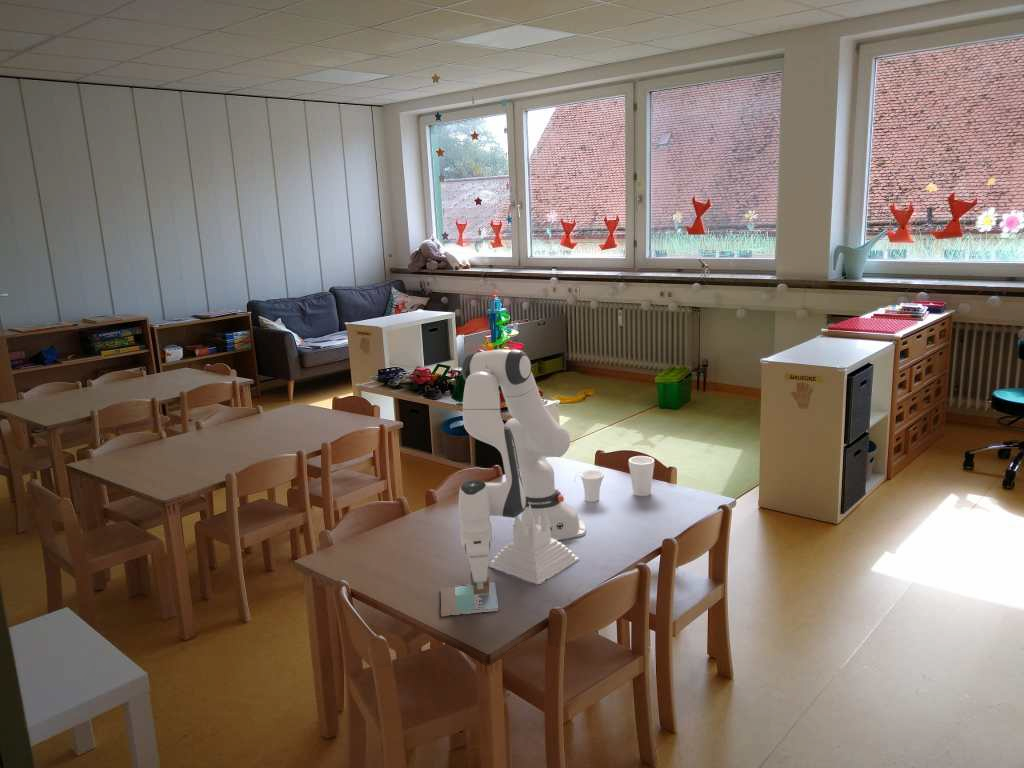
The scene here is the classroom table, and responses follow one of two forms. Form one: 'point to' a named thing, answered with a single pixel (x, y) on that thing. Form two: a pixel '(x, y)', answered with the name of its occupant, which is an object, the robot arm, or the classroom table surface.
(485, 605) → the building board
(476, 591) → the walnut cube
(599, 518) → the classroom table surface
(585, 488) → the cup
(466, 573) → the classroom table surface
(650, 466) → the foam cup
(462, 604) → the teal cube
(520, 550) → the castle model
